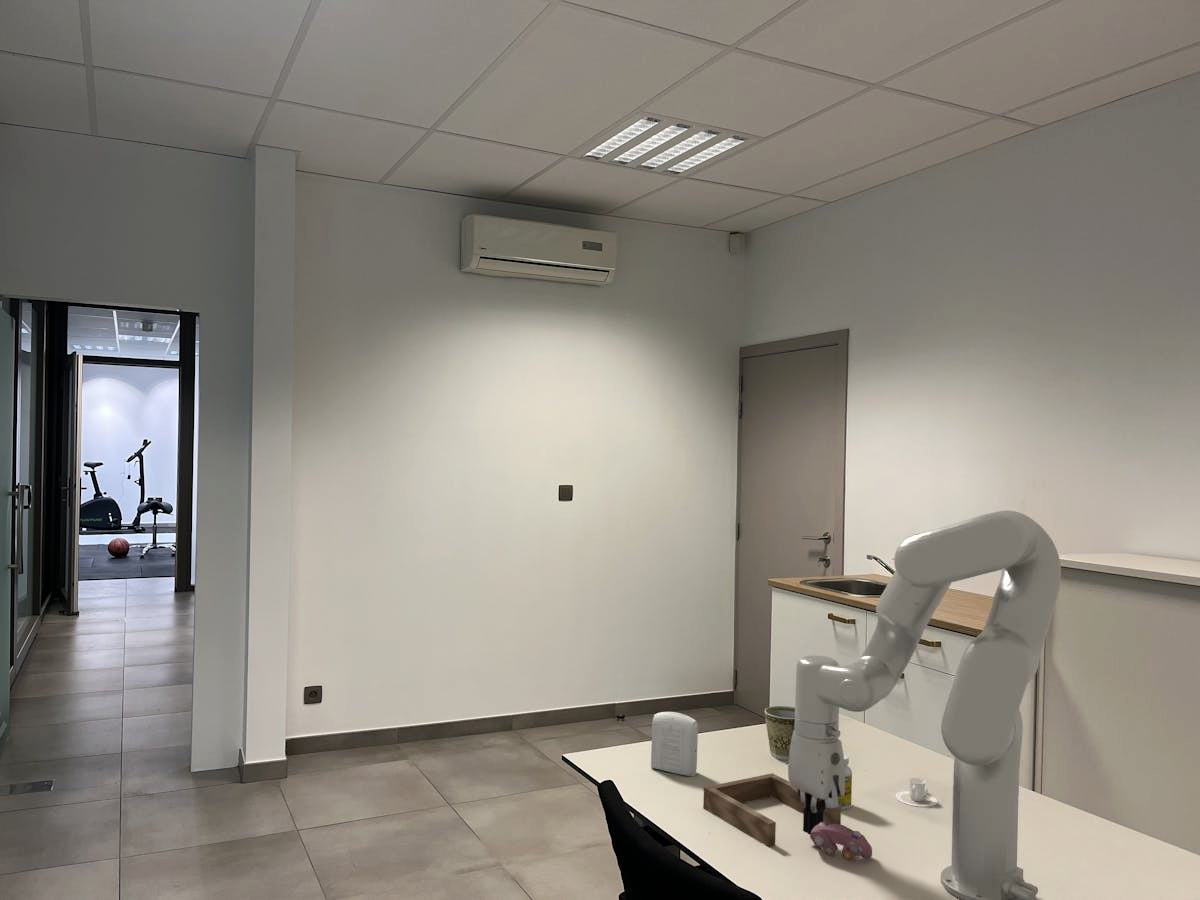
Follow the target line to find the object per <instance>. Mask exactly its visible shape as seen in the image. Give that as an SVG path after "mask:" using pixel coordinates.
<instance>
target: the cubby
mask: <svg viewBox="0 0 1200 900" xmlns="http://www.w3.org/2000/svg"><path fill="white" fill-rule="evenodd" d="M767 798H769V799H770V798H772V799H774V800H776V801H778V802H780V803H782V804H784V805H786V806H787V807H789V808H791V809H794V810H795V811H797V812H799V813H801V814H804V808H802V806H801V799H800V797H799V795H798V793H797V792H796V791H795V790H793V789H792V787H791V783H790V781H789V780H787V779H785V778H783V777H781V776H779V775H777V774H775V773H767V774H762V775H757V776H752V777H748V778H742V779H739V780H732V781H727V782H724V783H718V784H713V785H709V786H704V787H703V802H702V803H703V806H702V807H703V808H702V809H704V810H705V811H708V813H711V814H712V815H714V816H716V817H718V818H719V819H721V820H723V821H724V822H726V823H728V824H729V825H732V826H733V827H735V828H736V829H738V830H740V831H741V832H743V833H744V834H746V835H748V836H749V837H751V838H753V839H754V840H756V841H757V842H760V843H761V844H763V845H764V846H767V847H768V848H770V847H773V846H776V829H777V828H776V825H777V824H776V823H777V822H776V821H774V820H773V819H771V818H769V817H767V816H766V815H763V814H762V813H760V812H759V811H756V810H755V809H753V808H751V807H749V806H747V805H745V804H746V803H750V802H754V801H755V802H756V801H758V800H763V799H767ZM819 801H820V800H819ZM841 820H842V810H841V806H838V807H837V808H833V809H831V808H827V809H826V811H823V823H825V824H841V825H842V821H841Z"/></svg>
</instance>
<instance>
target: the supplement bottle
mask: <svg viewBox="0 0 1200 900" xmlns="http://www.w3.org/2000/svg"><path fill="white" fill-rule="evenodd" d="M843 755H844V766H845V793H844V796H842V797H838V796H837V797H838V805H839V806H841V811H843V810H849V809H850V808H851V806H852V794H853V793H852V790H853V787H852V786H853V785H852V784H853V779H852V778H853V771H852V768H851V767H849V766H848V765H849V763H850V762H849V761H850V760H849V759H850V758H849V756H848V755H846V754H845V753H843Z"/></svg>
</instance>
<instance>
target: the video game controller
mask: <svg viewBox="0 0 1200 900" xmlns="http://www.w3.org/2000/svg"><path fill="white" fill-rule="evenodd" d="M809 838H810V840H811V841H812V842H813V844H814V846H815V847H817V848H821V849H822V851H823V852H824V853H825V854H826V855H828V856H831V857H832V856H833V857H834V856H835V855H836V853H837V851H838V845H839V846H842V849H841V853H840V854H841V857H842V858H844V860H846V861H849V862H852V861H854V860H855V859H856V858H857V857H861V858H862V859H864V860H867V861H868V860H870V859H871V858H872V856H873V847H872V845H871V844H870V843H869V842H868V840H867V838H866V837H865V836H864V835H863V834H862V833H861V832H860V831H859V830H853V829H852V828H850V827H847V826H845V825H844V824H842V823H841V824H825V823H823V822H820V823H819V824H818V825H816V826H815V827H814V828H813V829H812V831H811V834H810V835H809Z"/></svg>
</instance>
